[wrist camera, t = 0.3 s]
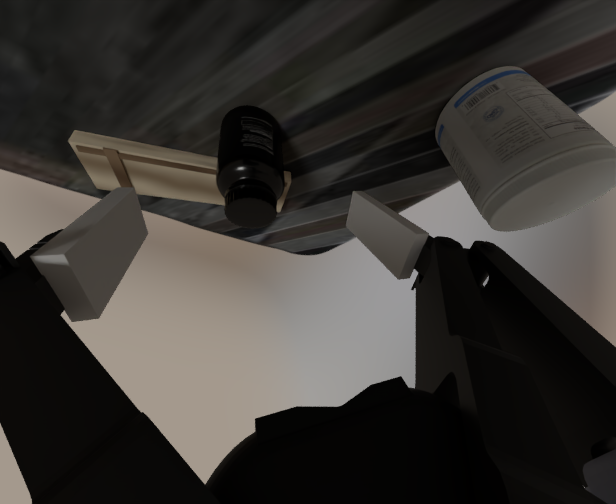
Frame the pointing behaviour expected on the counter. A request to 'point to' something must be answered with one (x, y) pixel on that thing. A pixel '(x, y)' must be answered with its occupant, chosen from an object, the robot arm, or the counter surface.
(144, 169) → the birch board
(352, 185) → the counter surface
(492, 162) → the supplement tub
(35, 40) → the counter surface
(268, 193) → the supplement bottle
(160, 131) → the counter surface
